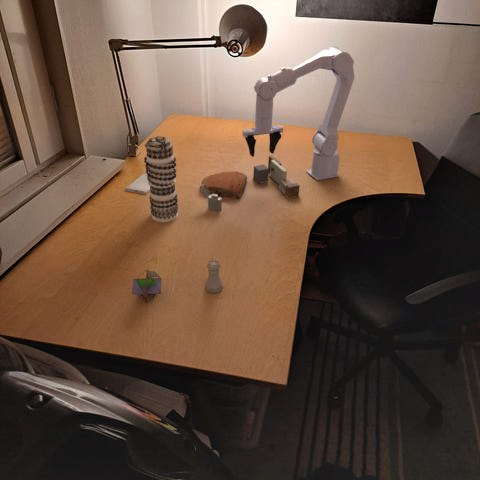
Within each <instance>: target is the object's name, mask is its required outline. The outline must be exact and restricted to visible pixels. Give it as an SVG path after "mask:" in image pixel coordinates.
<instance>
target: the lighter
mask: <svg viewBox="0 0 480 480" xmlns="http://www.w3.org/2000/svg"><path fill="white" fill-rule="evenodd" d="M199 189H200V191H201V193H202V196H203V198H205V199H206V198H207V205H208V206H207V208H208V210H210V211H214V212H218V213H220V212H221V211H222V197H219V194H210V193H209V191H208V188H207V186H206V184H202V185H199Z"/></svg>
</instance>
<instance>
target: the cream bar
mask: <svg viewBox="0 0 480 480" xmlns="http://www.w3.org/2000/svg"><path fill="white" fill-rule="evenodd" d="M287 172H288V171H287V170H286V168H284V167H283V166H282V165H281V166H280V165H279V164H278V163H277V162H276V161H275V160H271V168H270V172H269V177H270V178H272V180H274V181H275V182H276V183H277V184H278V185H280V180H284V179H287Z"/></svg>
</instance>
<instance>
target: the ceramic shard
mask: <svg viewBox="0 0 480 480" xmlns="http://www.w3.org/2000/svg"><path fill="white" fill-rule="evenodd" d="M247 180H248V176H247V175H246V174H245V173H243V172H239V171H223V172H222V171H221V172H217V173H214V174H210V175H208V176H206V177H204V178H202V180H201V182H200V183H201V185H202V184H206V186H207V188H208V191H209V193H210V195H212V194H216V195H222V196H224V197H229V198H233V199H236V200H237V199H238V200H239V199H240V198H241V195H242V194H243V193H242V192H243V190H244V188H245V184H246V183H247V182H248V181H247ZM201 185H200V186H201Z"/></svg>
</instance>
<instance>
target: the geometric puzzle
mask: <svg viewBox="0 0 480 480" xmlns="http://www.w3.org/2000/svg"><path fill="white" fill-rule="evenodd" d="M144 272H145V274H146V275H145V277H144V278H140V276H142V275H143V273H141V274H139V275H137V277H138V276H139V277H138V278H133V279H132V291H131V292H132V293H131V295H132V296H134V295H138V296H139V295H140V296H141V297H142V298H143V299H144V302H145V303H148V295H157V296H155V297H154V296H153V299H155V298H156V297H158V296H159V295H160V294H161V295H162V293H161V292H162V277H160V275H159V274H158V273H157V272H156V271H153V270H148V269H145V271H144ZM144 296H145V297H144ZM143 299H141V298H140V300H141V301H142V300H143Z"/></svg>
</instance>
